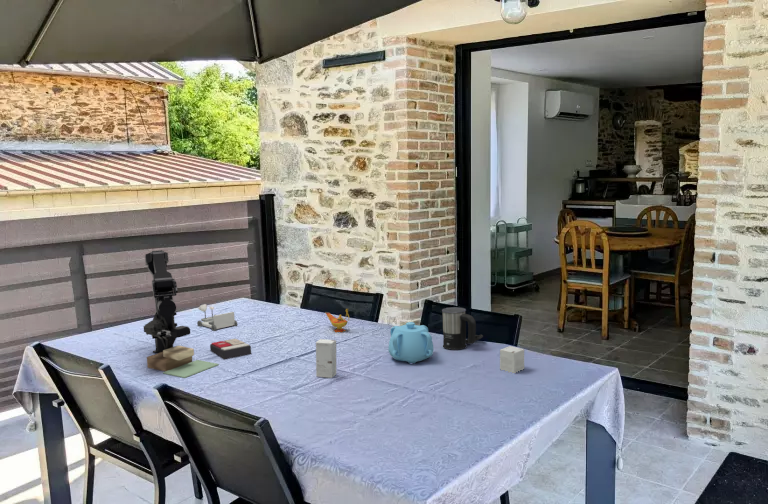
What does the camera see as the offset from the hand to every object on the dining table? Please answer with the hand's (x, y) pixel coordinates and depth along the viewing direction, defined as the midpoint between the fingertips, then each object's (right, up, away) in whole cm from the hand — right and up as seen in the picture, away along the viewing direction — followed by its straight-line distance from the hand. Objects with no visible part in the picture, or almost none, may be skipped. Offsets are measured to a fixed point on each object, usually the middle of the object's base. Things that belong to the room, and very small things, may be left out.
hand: (168, 352), depth 230 cm
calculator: (+19, -3, +15) cm, 24 cm away
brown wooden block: (0, -5, +1) cm, 5 cm away
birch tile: (+5, -1, -2) cm, 5 cm away
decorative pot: (+89, -3, +1) cm, 89 cm away
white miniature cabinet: (+59, -6, -16) cm, 62 cm away
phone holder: (+2, +2, +58) cm, 58 cm away
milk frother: (+110, 0, +16) cm, 111 cm away
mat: (+10, -5, -5) cm, 12 cm away
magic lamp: (+59, +2, +44) cm, 73 cm away
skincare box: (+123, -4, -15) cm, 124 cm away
